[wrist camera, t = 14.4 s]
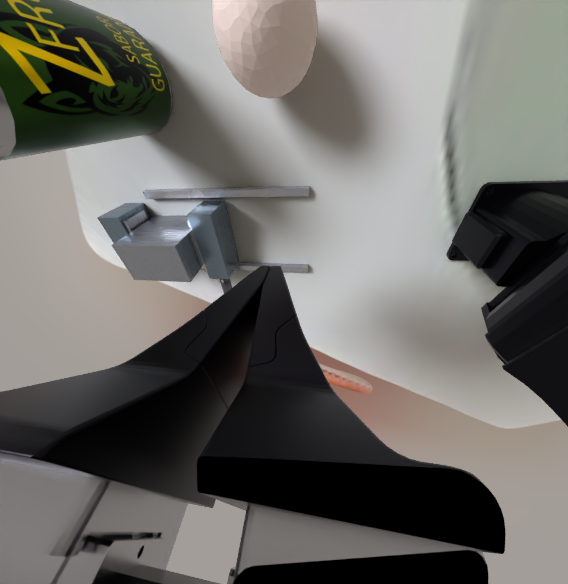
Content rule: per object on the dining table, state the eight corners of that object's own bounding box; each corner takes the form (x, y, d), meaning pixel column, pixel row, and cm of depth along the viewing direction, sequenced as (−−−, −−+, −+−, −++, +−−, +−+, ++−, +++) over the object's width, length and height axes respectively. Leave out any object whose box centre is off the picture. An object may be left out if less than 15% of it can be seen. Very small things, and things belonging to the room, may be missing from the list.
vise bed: (309, 186, 18) (307, 200, 15) (307, 269, 23) (306, 290, 21) (118, 190, 20) (88, 203, 17) (158, 264, 26) (139, 282, 23)
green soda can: (155, 149, 17) (-20, 198, 8) (86, 78, 15) (-261, 41, 6) (191, 91, 15) (-12, 72, 6) (113, -8, 12) (-444, -303, 3)
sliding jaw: (224, 200, 19) (210, 214, 17) (244, 283, 26) (235, 303, 23) (200, 200, 19) (183, 215, 17) (225, 283, 26) (215, 301, 23)
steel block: (155, 215, 21) (111, 245, 17) (206, 215, 21) (174, 246, 16) (169, 246, 24) (134, 279, 19) (216, 247, 23) (190, 282, 18)
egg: (299, 112, 15) (286, 117, 9) (234, 79, 14) (177, 64, 8) (333, 6, 11) (343, -82, 6) (251, -42, 11) (179, -188, 5)
